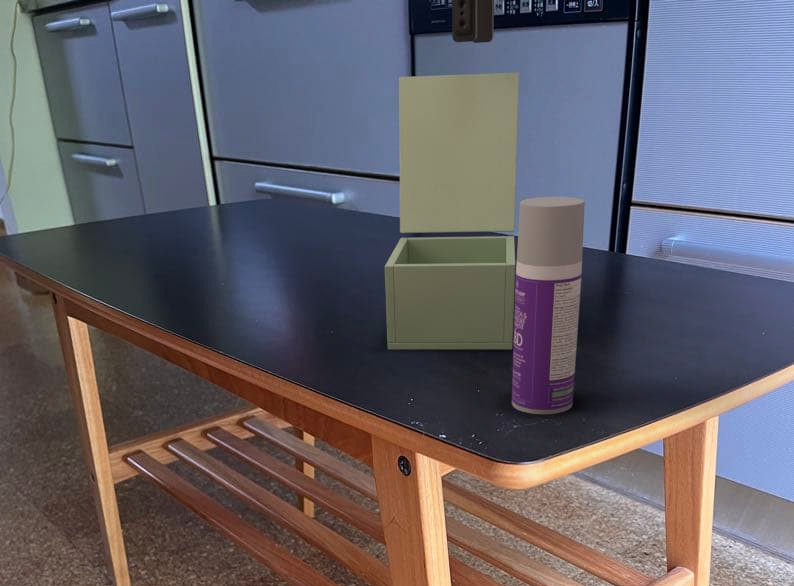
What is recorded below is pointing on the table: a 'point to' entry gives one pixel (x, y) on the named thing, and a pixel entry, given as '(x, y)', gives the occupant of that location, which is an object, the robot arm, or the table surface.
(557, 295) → the container
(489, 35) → the robot arm
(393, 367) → the table surface
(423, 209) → the lid
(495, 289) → the chest
